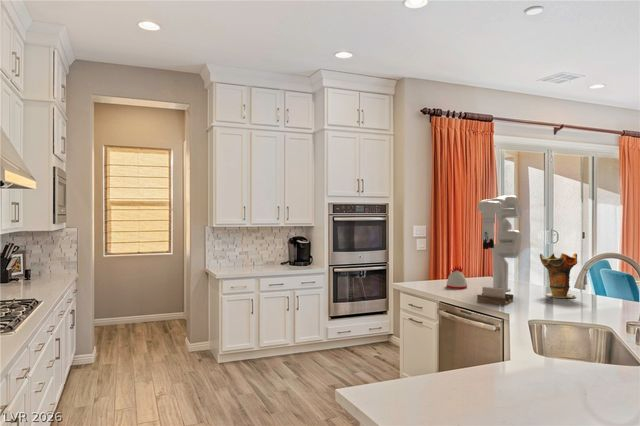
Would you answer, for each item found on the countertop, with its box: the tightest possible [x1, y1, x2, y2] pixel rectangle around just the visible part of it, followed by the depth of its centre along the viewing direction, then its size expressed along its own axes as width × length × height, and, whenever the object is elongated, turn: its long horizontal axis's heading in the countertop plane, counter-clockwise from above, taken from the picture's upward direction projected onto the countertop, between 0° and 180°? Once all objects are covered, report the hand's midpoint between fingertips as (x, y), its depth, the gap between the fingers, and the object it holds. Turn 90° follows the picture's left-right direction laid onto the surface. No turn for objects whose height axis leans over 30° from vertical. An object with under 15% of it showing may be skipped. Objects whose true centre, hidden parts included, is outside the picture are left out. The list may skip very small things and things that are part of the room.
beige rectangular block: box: [481, 286, 506, 298], centre depth 264 cm, size 3×12×7 cm, turn 50°
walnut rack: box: [476, 292, 514, 306], centre depth 267 cm, size 15×16×4 cm
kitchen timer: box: [446, 265, 468, 290], centre depth 316 cm, size 14×14×15 cm
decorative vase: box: [539, 252, 578, 299], centre depth 285 cm, size 21×23×28 cm
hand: (488, 248), depth 281 cm, fingers open, 9 cm apart
